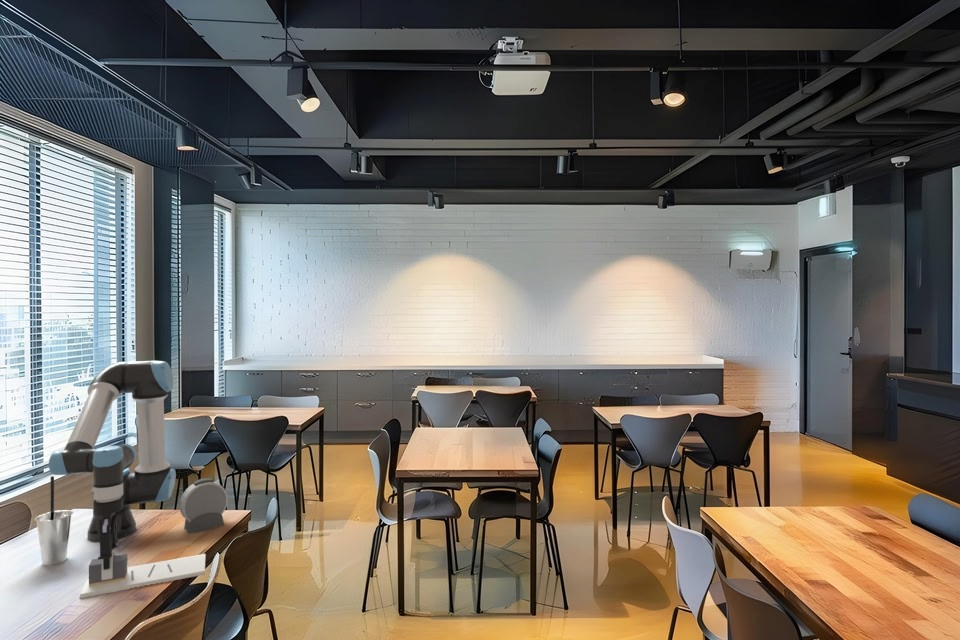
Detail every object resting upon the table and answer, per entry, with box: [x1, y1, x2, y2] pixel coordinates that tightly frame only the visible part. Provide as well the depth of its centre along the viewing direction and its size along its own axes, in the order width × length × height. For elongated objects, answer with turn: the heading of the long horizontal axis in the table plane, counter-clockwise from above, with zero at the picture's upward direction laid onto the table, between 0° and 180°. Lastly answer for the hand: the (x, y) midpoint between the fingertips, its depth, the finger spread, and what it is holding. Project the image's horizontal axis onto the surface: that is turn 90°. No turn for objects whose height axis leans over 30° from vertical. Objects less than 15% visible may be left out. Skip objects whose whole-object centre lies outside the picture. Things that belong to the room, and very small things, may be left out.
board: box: [79, 553, 207, 599], centre depth 169 cm, size 14×32×1 cm, turn 116°
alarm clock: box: [179, 477, 229, 534], centre depth 210 cm, size 16×10×18 cm, turn 133°
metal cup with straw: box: [34, 475, 74, 566], centre depth 180 cm, size 11×11×30 cm
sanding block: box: [88, 553, 128, 586], centre depth 165 cm, size 5×9×6 cm, turn 116°
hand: (109, 574), depth 165 cm, fingers closed on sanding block, 5 cm apart
